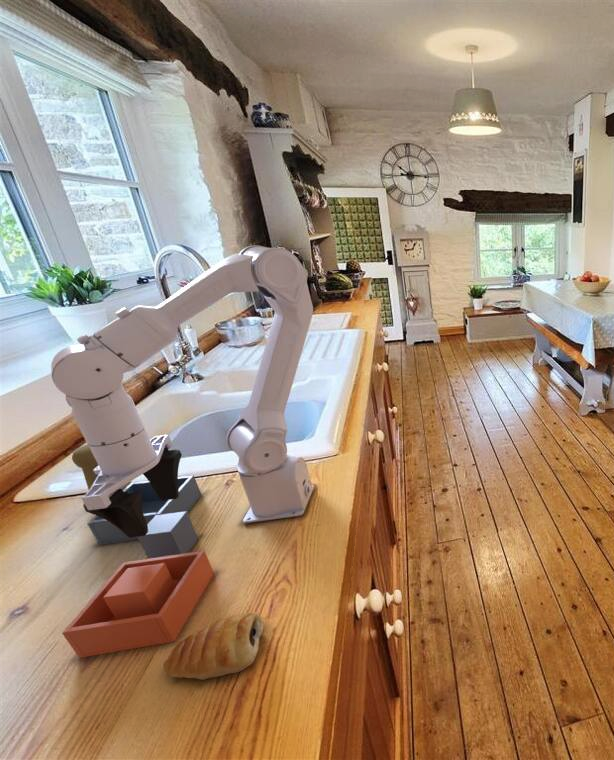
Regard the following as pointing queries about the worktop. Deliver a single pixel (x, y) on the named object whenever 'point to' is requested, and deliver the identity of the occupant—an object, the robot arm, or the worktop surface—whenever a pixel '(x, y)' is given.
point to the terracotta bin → (106, 634)
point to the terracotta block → (140, 591)
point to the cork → (87, 464)
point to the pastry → (217, 648)
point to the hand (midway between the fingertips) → (155, 515)
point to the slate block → (169, 535)
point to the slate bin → (148, 508)
